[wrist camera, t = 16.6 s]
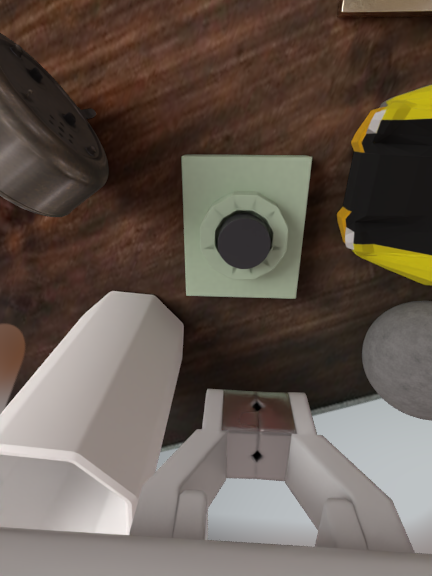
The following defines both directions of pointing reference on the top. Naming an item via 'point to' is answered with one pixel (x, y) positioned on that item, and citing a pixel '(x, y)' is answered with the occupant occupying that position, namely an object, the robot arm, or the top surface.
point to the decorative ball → (402, 357)
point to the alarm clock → (44, 139)
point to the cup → (92, 420)
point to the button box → (235, 200)
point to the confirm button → (244, 241)
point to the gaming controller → (392, 187)
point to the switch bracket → (384, 8)
